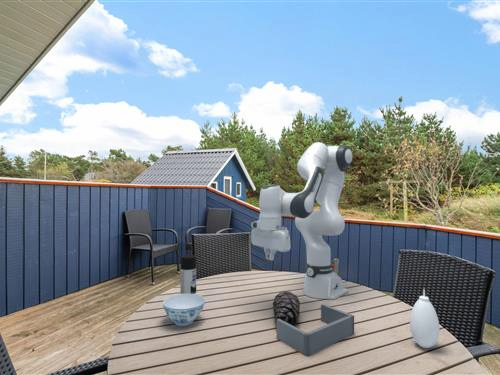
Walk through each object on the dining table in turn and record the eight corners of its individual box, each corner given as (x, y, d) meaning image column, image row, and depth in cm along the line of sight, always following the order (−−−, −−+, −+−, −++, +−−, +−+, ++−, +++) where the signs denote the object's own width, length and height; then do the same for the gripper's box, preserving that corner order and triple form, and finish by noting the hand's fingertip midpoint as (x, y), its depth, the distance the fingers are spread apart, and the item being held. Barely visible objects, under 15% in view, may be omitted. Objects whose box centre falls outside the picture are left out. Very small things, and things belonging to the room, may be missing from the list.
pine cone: (274, 334, 98) (274, 304, 98) (272, 312, 116) (272, 287, 116) (305, 334, 98) (305, 304, 98) (298, 312, 116) (298, 287, 116)
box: (323, 319, 109) (323, 303, 109) (354, 333, 99) (354, 315, 99) (276, 338, 95) (276, 319, 95) (307, 356, 85) (307, 335, 85)
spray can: (192, 306, 121) (193, 258, 121) (177, 305, 122) (177, 257, 123) (198, 300, 128) (198, 255, 128) (184, 299, 129) (184, 254, 129)
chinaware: (181, 310, 117) (181, 291, 117) (212, 318, 110) (212, 297, 110) (153, 325, 103) (153, 303, 103) (187, 335, 97) (187, 311, 97)
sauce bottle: (444, 354, 86) (443, 293, 86) (415, 352, 87) (415, 291, 88) (432, 341, 94) (432, 285, 94) (406, 339, 95) (406, 283, 95)
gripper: (294, 226, 110) (294, 263, 110) (260, 222, 126) (260, 254, 126) (282, 227, 106) (282, 266, 106) (248, 223, 123) (248, 256, 122)
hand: (269, 259), depth 116 cm, fingers closed
